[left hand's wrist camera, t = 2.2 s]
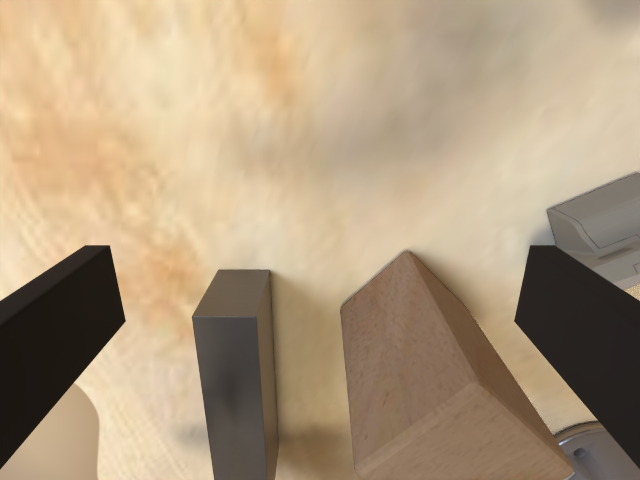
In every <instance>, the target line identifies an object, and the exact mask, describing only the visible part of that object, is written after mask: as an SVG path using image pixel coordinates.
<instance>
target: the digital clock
mask: <svg viewBox="0 0 640 480" xmlns="http://www.w3.org/2000/svg"><path fill="white" fill-rule="evenodd" d="M547 212H548V217H549V220H550V224H551V228H552V231H553V235H554V239H555V242H556V246H557V247H558V248H559V249H561V250H562V251H564V252H566V253H567V254H569V255H570V256H572V257H573V258H575V259H576V260H578V261H579V262H581V263H582V264H584V265H585V266H587V267H588V268H590V269H591V270H593V271H595V272H596V273H598V274H599V275H601V276H602V277H604V278H605V279H607V280H608V281H610V282H611V283H613V284H614V285H616V286H617V287H619V288H620V289H622V290H625V289H628V288H630V287H633V286H636V285H639V284H640V173H636V174H634V175H631V176H629V177H626V178H624V179H622V180H619V181H617V182H614V183H612V184H610V185H607V186H605V187H602V188H600V189H597V190H595V191H593V192H590V193H588V194H585V195H583V196H581V197H578V198H576V199H573V200H571V201H569V202H566V203H564V204H561V205H559V206H557V207H554V208H552V209H549V210H548V211H547Z"/></svg>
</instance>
